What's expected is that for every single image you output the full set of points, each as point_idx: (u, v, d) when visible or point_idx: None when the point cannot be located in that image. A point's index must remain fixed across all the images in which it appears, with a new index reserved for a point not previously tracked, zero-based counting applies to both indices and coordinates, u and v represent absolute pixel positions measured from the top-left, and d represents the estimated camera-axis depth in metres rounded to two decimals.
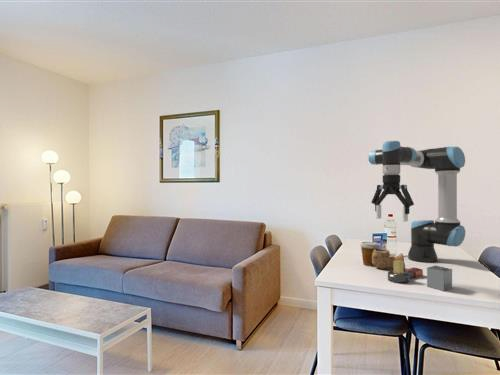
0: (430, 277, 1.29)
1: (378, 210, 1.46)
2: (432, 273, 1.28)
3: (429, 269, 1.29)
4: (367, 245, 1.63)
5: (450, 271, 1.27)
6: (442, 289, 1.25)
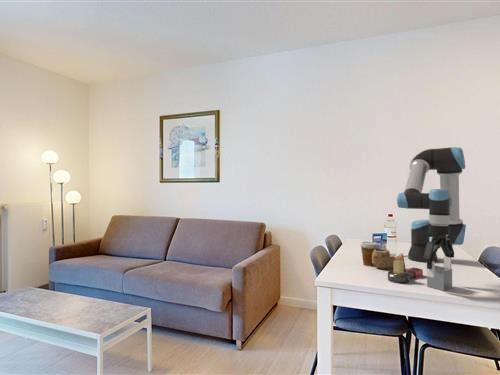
0: (430, 277, 1.29)
1: (445, 262, 1.33)
2: None
3: None
4: (367, 245, 1.63)
5: (450, 271, 1.27)
6: (442, 289, 1.25)
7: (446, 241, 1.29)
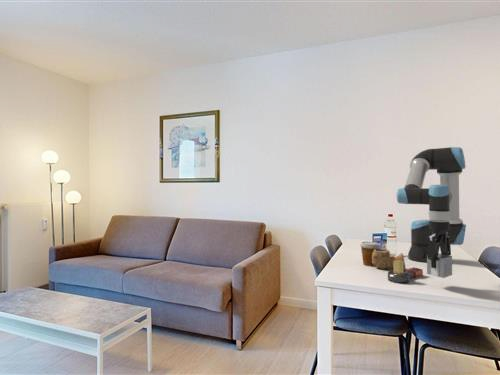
0: (430, 264, 1.29)
1: None
2: None
3: None
4: (367, 245, 1.63)
5: (450, 258, 1.28)
6: (442, 276, 1.25)
7: (446, 237, 1.29)
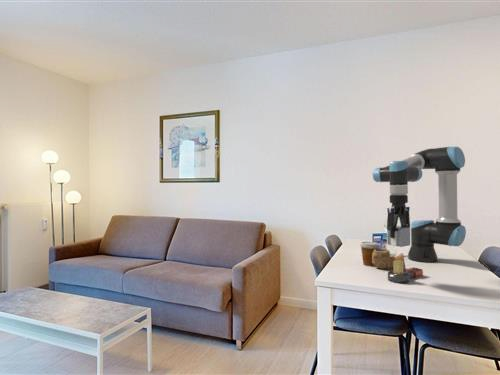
0: None
1: None
2: None
3: None
4: (367, 245, 1.63)
5: (408, 229, 1.37)
6: (400, 245, 1.35)
7: (404, 210, 1.38)
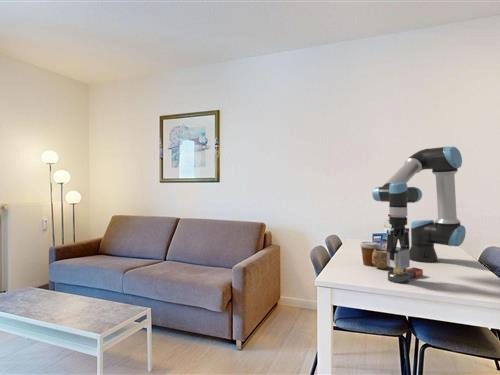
0: (389, 257, 1.39)
1: None
2: None
3: None
4: (367, 245, 1.63)
5: (407, 251, 1.37)
6: (399, 267, 1.35)
7: (404, 232, 1.38)
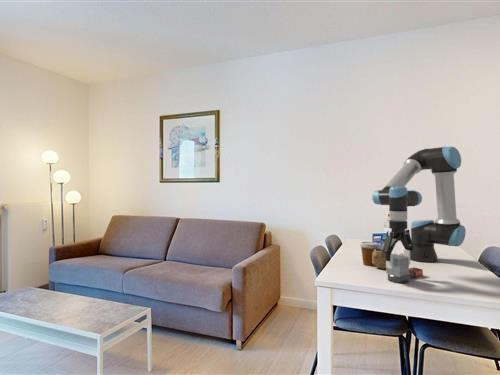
0: None
1: (405, 255, 1.43)
2: None
3: None
4: (367, 245, 1.63)
5: (407, 259, 1.37)
6: (398, 275, 1.34)
7: (404, 235, 1.39)
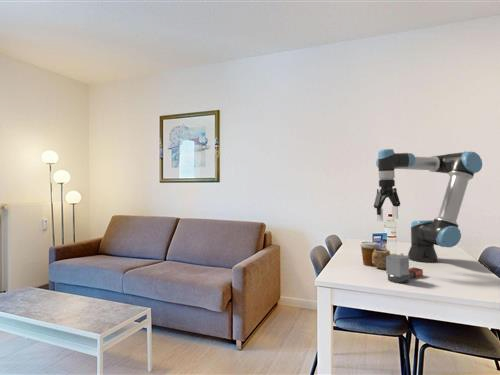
0: (389, 264, 1.39)
1: (393, 211, 1.61)
2: (390, 261, 1.38)
3: (388, 257, 1.39)
4: (367, 245, 1.63)
5: (407, 259, 1.37)
6: (398, 275, 1.34)
7: (392, 192, 1.56)
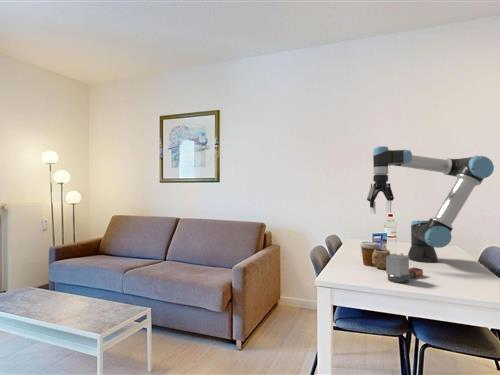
0: (389, 264, 1.39)
1: (386, 205, 1.71)
2: (390, 261, 1.38)
3: (388, 257, 1.39)
4: (367, 245, 1.63)
5: (407, 259, 1.37)
6: (398, 275, 1.34)
7: (386, 187, 1.67)
